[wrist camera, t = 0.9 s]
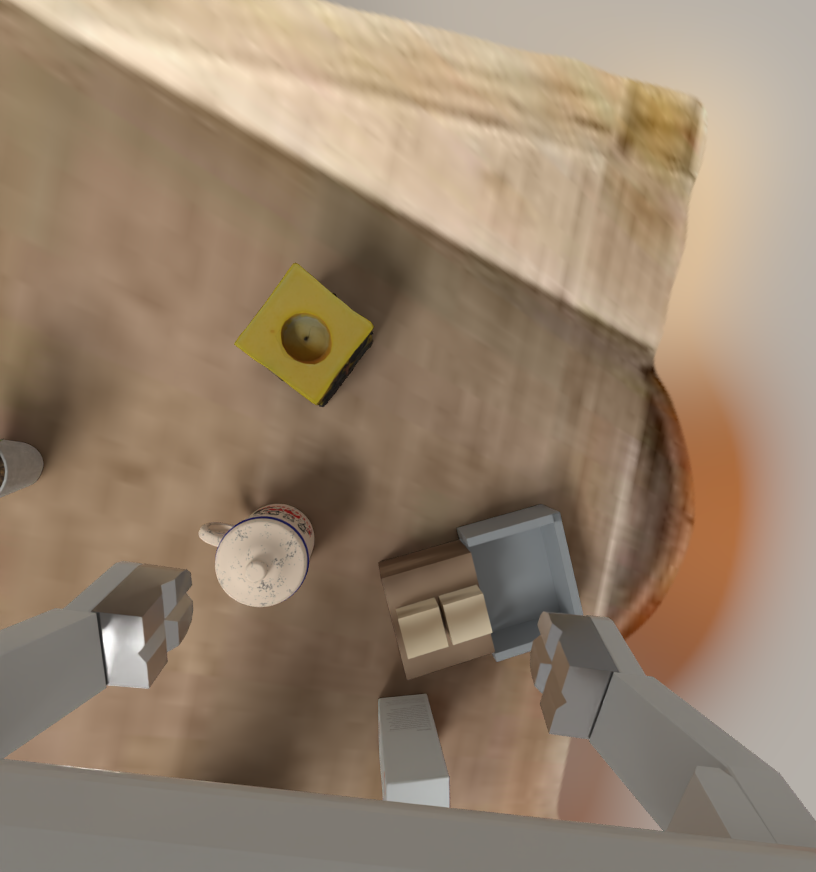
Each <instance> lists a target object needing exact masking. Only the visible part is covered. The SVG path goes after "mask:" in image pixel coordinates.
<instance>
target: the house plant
mask: <svg viewBox="0 0 816 872" xmlns="http://www.w3.org/2000/svg"><path fill="white" fill-rule="evenodd" d="M43 465H44V464H43V459H42V457H41V455H40V453H39V452H38V451H37V449H36V448H34V447H33V446H31V445H29V444H27V443H24V442H17V441H10V440H3V439H0V498H1V497H3V496H5V495H8V494H10V493H13V492H15V491H17V490H20V489H22V488H25V487H27V486H30V485H32V484H33V483H35V482H36V481H37V480H38V478H39V477H40V475H41V472H42V469H43Z"/></svg>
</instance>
